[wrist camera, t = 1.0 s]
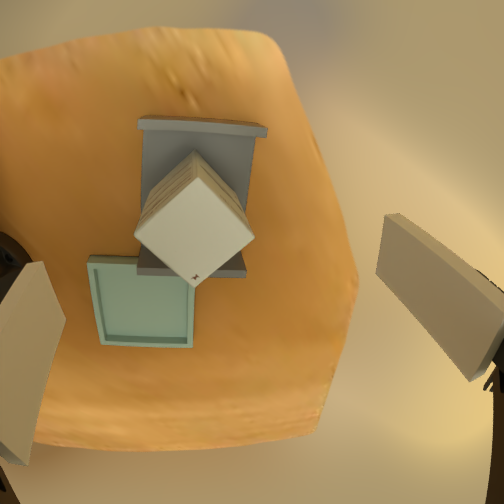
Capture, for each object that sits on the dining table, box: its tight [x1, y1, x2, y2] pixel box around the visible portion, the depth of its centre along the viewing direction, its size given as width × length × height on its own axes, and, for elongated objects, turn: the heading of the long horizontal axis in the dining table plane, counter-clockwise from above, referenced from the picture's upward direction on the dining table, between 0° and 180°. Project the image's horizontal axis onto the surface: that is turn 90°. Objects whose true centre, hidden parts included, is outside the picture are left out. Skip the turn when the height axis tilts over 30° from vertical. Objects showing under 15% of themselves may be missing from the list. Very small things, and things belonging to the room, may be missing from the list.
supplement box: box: [134, 150, 255, 288], centre depth 31 cm, size 7×7×13 cm
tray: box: [87, 255, 195, 348], centre depth 41 cm, size 14×14×2 cm
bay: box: [136, 115, 268, 278], centre depth 35 cm, size 12×17×5 cm
